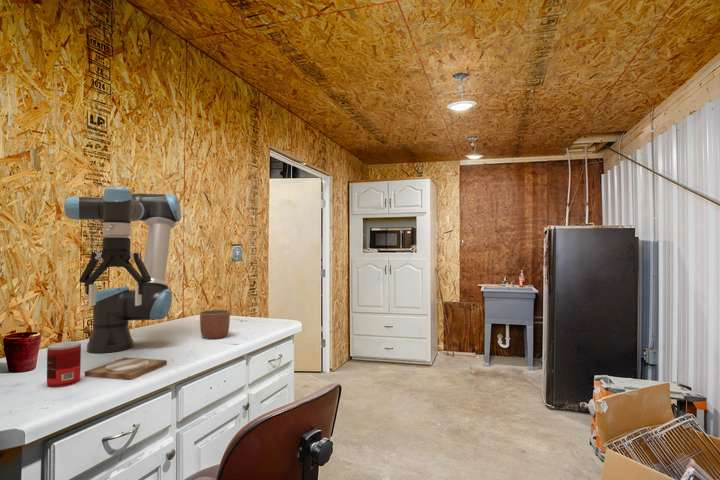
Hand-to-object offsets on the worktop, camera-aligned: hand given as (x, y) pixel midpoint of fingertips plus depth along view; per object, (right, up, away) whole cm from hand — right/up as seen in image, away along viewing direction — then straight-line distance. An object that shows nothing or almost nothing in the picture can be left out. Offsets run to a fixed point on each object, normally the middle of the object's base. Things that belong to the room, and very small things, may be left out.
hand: (115, 305), depth 127 cm
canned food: (-9, -21, -10) cm, 25 cm away
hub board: (+2, -21, +2) cm, 21 cm away
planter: (+13, -22, +51) cm, 57 cm away
